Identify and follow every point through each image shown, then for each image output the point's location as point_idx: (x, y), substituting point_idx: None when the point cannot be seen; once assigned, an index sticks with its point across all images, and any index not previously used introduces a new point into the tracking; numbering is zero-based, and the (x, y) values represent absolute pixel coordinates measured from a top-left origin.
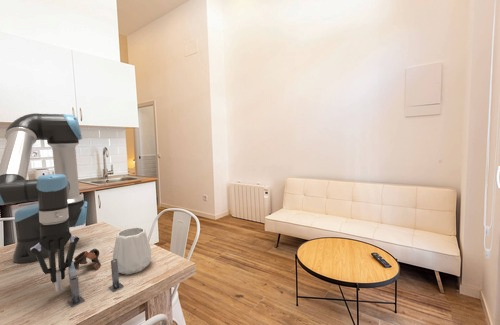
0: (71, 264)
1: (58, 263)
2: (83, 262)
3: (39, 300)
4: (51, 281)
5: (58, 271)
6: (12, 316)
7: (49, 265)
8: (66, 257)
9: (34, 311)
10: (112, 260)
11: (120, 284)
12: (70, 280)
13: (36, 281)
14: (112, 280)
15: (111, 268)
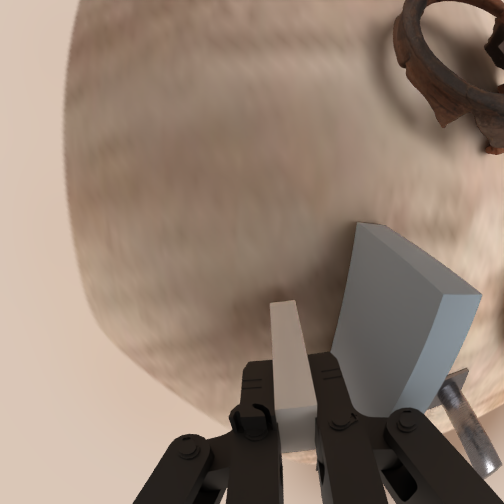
0: (435, 371)
1: (327, 471)
2: (496, 134)
3: (193, 274)
4: (247, 370)
5: (302, 438)
6: (111, 322)
7: (229, 487)
8: (425, 484)
9: (180, 354)
10: (490, 471)
11: (460, 386)
12: (321, 494)
13: (192, 5)
14: (450, 416)
15: (470, 453)
